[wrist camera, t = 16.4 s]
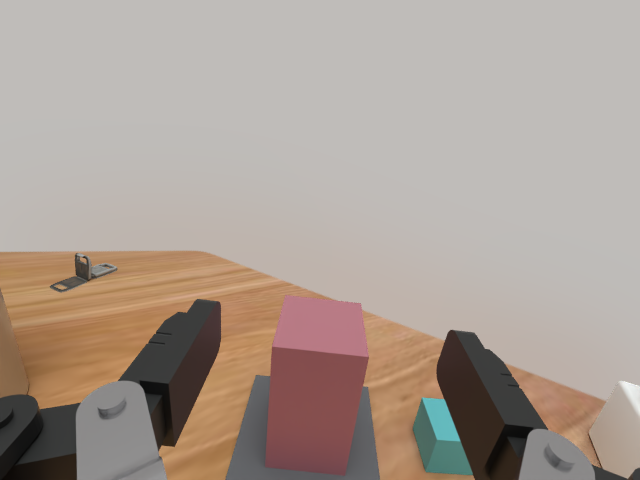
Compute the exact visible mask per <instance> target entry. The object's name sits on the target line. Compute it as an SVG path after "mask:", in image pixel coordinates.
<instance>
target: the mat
mask: <svg viewBox="0 0 640 480" xmlns="http://www.w3.org/2000/svg"><path fill="white" fill-rule="evenodd" d="M269 391H270V376H260V375H256V377H255V380H254V384H253V387H252V391H251V394H250V397H249V401H248V404H247V408H246V411H245V414H244V418H243V421H242V425H241V428H240V432H239V435H238V438H237V442H236V445H235V449H234V452H233V455H232V459H231V462H230V466H229V469H228V473H227V476H226V479H225V480H380V476H379V469H378V461H377V453H376V446H375V438H374V430H373V423H372V415H371V407H370V399H369V392H368V387H363V388H362V393H361V398H360V403H359V408H358V413H357V418H356V423H355V428H354V433H353V438H352V443H351V448H350V453H349V458H348V463H347V468H346V473H345V476H342V475H333V474H323V473H314V472H305V471H295V470H286V469H277V468H267V467H265V460H266V443H267V425H268V408H269Z"/></svg>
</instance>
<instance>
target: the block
mask: <svg viewBox="0 0 640 480" xmlns="http://www.w3.org/2000/svg"><path fill="white" fill-rule="evenodd" d="M413 431H414V434H415V438H416V441H417V444H418V448H419V451H420V454H421V458H422V461H423V465H424V468H425V471H426V472H432V473H447V474H462V475H473V473H472V470H471V468H470V465H469V462H468V460H467V457H466V454H465V452H464V449H463V447H462V444H461V441H460V439H459V436H458V433H457V431H456V428H455V425H454V423H453V420H452V418H451V415H450V412H449V410H448V407H447V404H446V402H445V399H432V398H422V399H421V402H420V406H419V409H418V412H417V416H416V419H415V422H414V426H413Z"/></svg>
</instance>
